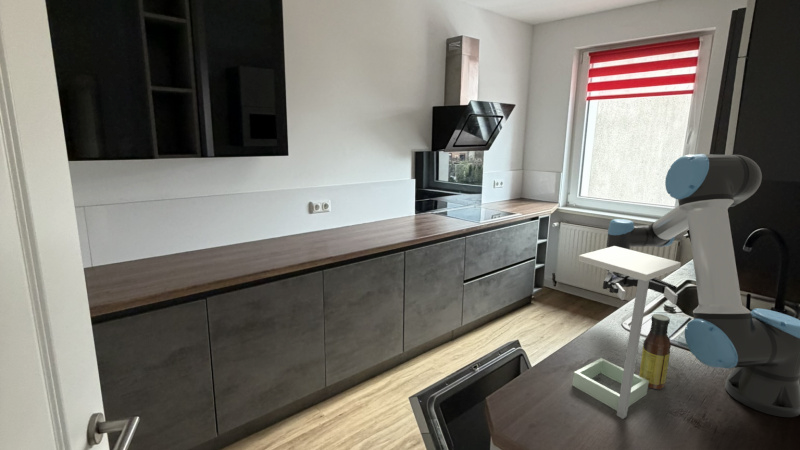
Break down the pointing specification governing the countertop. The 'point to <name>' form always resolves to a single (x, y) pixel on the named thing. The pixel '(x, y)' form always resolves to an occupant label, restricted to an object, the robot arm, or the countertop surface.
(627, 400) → the c-shaped side table
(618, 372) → the frame
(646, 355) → the sauce bottle
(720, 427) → the countertop surface
